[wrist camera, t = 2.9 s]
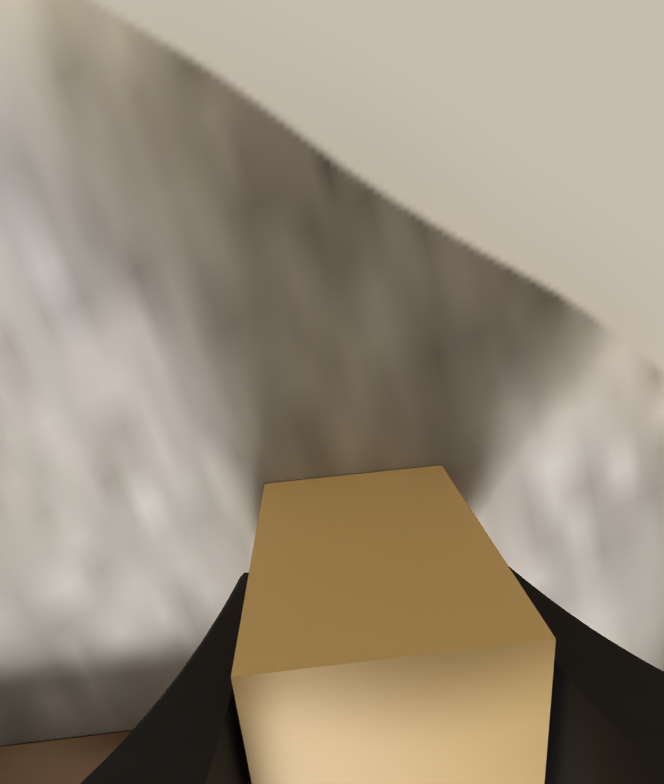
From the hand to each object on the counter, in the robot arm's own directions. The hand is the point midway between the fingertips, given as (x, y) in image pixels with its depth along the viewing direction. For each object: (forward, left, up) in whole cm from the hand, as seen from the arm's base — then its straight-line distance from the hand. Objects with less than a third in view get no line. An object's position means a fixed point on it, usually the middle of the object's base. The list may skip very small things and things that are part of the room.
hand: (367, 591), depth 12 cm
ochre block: (0, 0, -2) cm, 2 cm away
